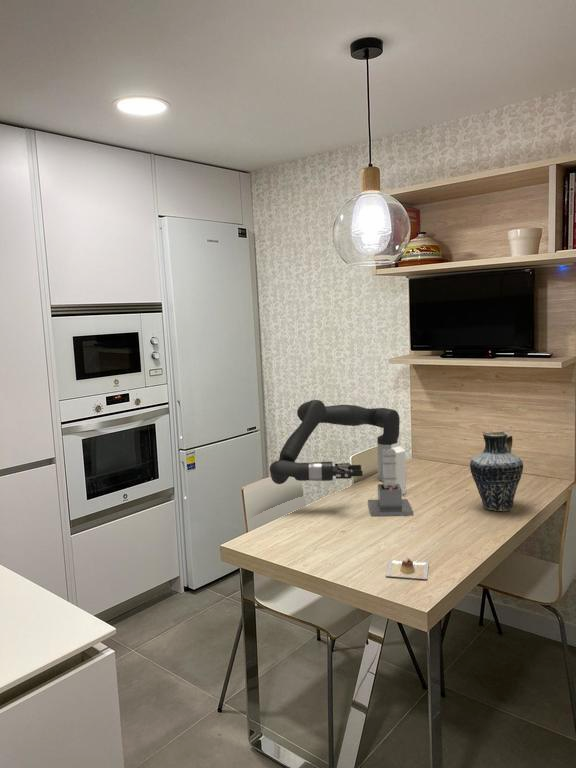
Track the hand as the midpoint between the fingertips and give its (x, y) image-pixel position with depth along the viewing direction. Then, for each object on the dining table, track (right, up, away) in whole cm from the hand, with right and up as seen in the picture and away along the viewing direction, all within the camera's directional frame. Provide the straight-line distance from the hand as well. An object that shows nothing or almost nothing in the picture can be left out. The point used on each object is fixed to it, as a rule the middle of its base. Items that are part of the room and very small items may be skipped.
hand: (361, 470), depth 240 cm
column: (+11, -14, +1) cm, 18 cm away
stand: (+11, -16, +1) cm, 19 cm away
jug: (+53, -15, -2) cm, 55 cm away
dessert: (+7, -23, -56) cm, 61 cm away
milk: (+17, -13, +21) cm, 30 cm away
